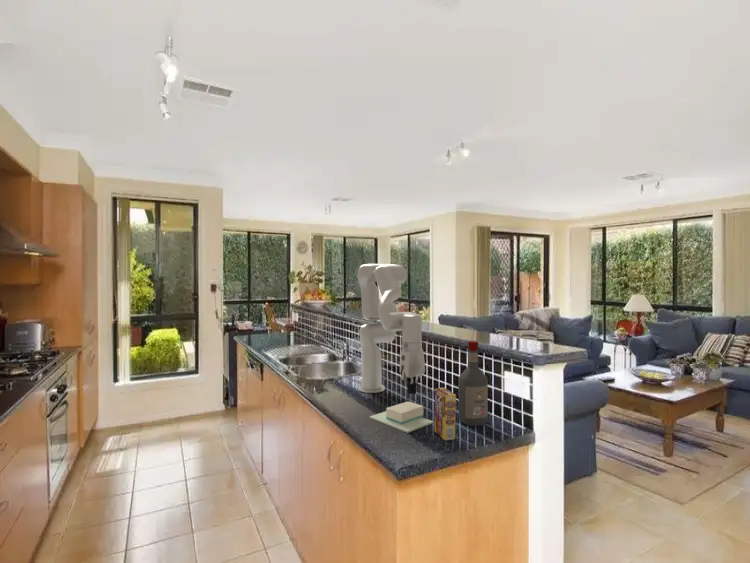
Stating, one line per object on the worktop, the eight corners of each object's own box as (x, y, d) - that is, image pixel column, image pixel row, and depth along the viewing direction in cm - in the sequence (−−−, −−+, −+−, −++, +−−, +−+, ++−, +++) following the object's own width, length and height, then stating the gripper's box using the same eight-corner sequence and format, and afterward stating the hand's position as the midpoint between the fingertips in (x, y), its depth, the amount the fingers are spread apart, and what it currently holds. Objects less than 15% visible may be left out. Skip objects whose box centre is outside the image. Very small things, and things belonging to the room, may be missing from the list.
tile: (408, 411, 164) (386, 418, 155) (408, 401, 163) (386, 408, 155) (423, 416, 158) (401, 424, 150) (423, 406, 158) (401, 413, 149)
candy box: (456, 439, 137) (456, 394, 137) (444, 441, 136) (444, 395, 136) (445, 429, 146) (445, 387, 145) (434, 431, 145) (434, 388, 144)
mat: (369, 418, 158) (369, 416, 158) (395, 409, 167) (395, 408, 167) (407, 433, 143) (407, 431, 143) (433, 423, 152) (433, 421, 152)
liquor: (490, 424, 151) (490, 343, 150) (468, 427, 148) (468, 344, 147) (477, 416, 159) (477, 339, 159) (456, 418, 157) (456, 340, 156)
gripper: (405, 349, 151) (405, 399, 151) (431, 344, 161) (431, 391, 161) (391, 347, 156) (391, 395, 157) (417, 342, 166) (417, 387, 167)
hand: (411, 393), depth 159 cm, fingers closed
